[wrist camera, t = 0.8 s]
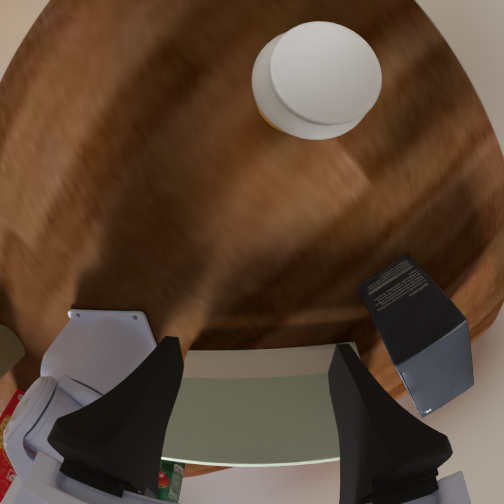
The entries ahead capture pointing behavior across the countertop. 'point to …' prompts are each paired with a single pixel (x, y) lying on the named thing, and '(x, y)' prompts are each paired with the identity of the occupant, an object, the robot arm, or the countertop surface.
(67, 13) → the countertop surface
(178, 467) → the canned tomato
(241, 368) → the keepsake box
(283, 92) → the supplement bottle
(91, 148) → the countertop surface
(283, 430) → the lid
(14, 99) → the countertop surface
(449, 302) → the box
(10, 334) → the olive pepper mill
